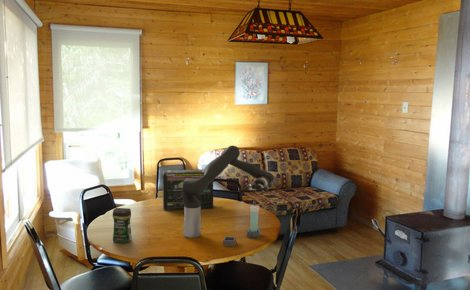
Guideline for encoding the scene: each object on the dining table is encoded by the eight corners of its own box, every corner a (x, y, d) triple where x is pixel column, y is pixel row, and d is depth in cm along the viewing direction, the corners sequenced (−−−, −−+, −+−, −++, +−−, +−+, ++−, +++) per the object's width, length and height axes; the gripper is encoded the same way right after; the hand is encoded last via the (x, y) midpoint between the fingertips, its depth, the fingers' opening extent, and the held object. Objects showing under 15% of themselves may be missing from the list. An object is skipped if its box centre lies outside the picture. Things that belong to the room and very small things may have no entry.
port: (247, 237, 238) (247, 231, 237) (248, 233, 244) (248, 227, 244) (259, 238, 237) (259, 232, 236) (260, 234, 244) (260, 228, 243)
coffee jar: (110, 242, 227) (110, 209, 224) (117, 237, 234) (116, 205, 232) (127, 244, 225) (127, 210, 223) (133, 239, 233) (132, 206, 231)
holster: (222, 245, 225) (222, 240, 224) (224, 241, 231) (224, 236, 230) (234, 246, 224) (234, 241, 223) (236, 242, 230) (236, 237, 230)
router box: (212, 204, 305) (212, 168, 301) (213, 209, 294) (214, 171, 290) (162, 206, 299) (162, 169, 295) (162, 210, 288) (162, 172, 284)
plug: (249, 234, 239) (250, 201, 237) (251, 232, 243) (251, 199, 241) (256, 235, 238) (257, 202, 235) (258, 233, 242) (259, 200, 239)
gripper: (249, 177, 265) (241, 182, 249) (271, 179, 260) (264, 184, 245) (249, 189, 266) (241, 194, 250) (271, 191, 261) (264, 196, 246)
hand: (253, 189), depth 248 cm, fingers open, 8 cm apart
